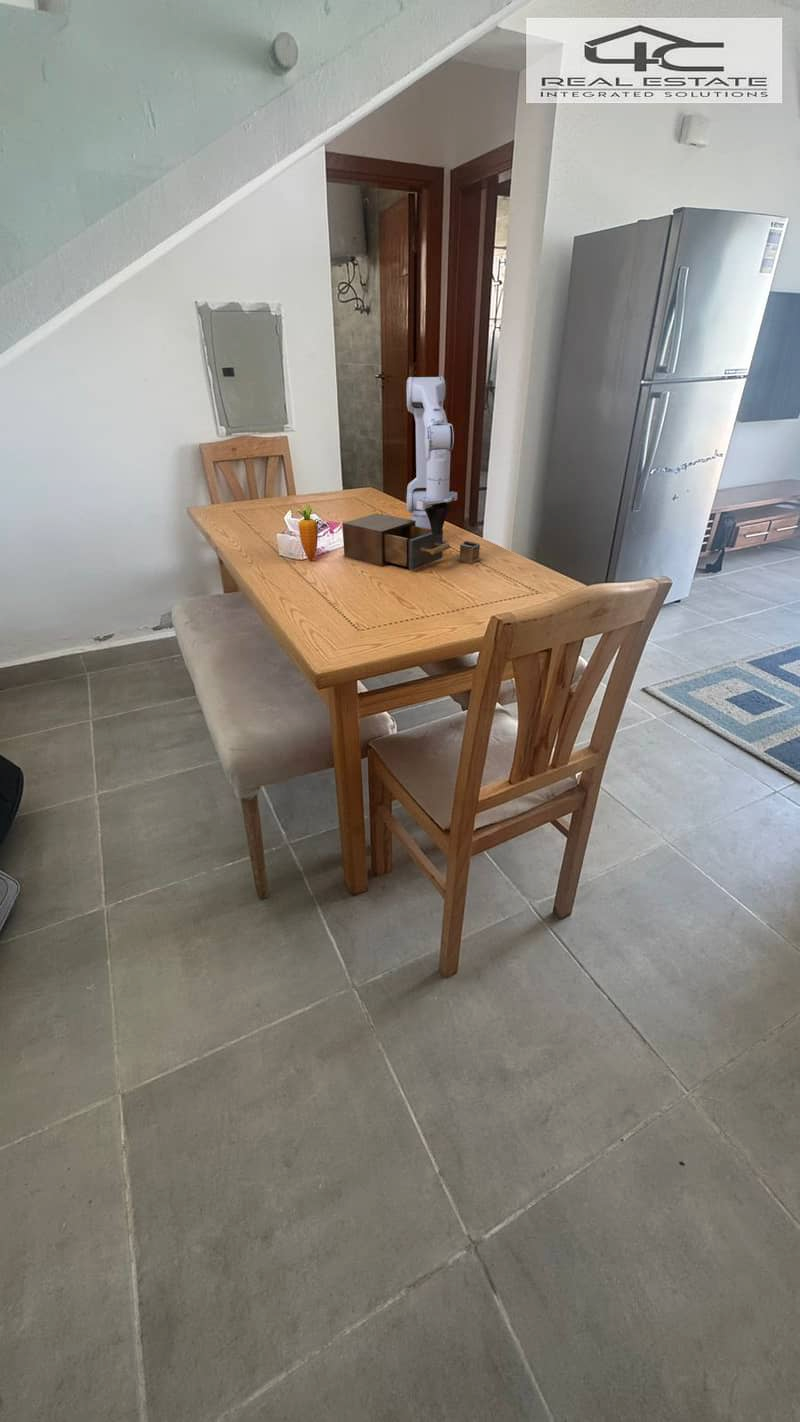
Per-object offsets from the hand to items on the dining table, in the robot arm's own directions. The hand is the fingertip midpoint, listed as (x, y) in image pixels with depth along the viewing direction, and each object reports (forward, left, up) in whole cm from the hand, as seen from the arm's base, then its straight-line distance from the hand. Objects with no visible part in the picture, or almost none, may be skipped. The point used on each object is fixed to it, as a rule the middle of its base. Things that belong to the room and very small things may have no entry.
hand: (436, 533), depth 157 cm
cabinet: (+1, -19, -9) cm, 22 cm away
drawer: (+1, -7, -8) cm, 11 cm away
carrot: (+17, -31, -10) cm, 36 cm away
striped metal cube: (-11, +3, -9) cm, 15 cm away
